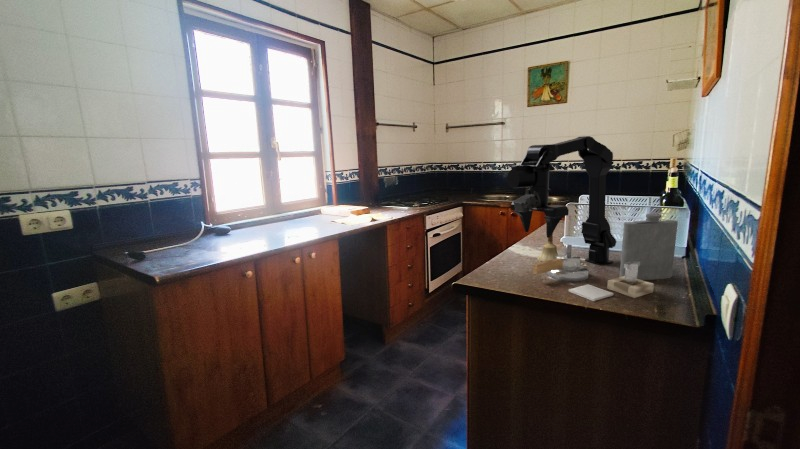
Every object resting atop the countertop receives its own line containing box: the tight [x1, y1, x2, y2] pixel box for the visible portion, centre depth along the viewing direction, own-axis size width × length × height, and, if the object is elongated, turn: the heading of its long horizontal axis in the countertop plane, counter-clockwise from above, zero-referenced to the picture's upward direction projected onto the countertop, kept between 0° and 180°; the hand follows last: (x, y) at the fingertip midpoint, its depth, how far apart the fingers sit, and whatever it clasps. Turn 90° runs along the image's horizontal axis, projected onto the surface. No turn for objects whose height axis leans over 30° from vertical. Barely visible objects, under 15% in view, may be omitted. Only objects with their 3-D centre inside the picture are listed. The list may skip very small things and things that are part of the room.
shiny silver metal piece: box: [624, 261, 640, 286], centre depth 103 cm, size 5×3×8 cm, turn 115°
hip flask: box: [619, 213, 679, 281], centre depth 111 cm, size 16×4×20 cm, turn 92°
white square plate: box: [568, 283, 614, 302], centre depth 103 cm, size 8×8×1 cm
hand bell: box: [537, 230, 559, 262], centre depth 134 cm, size 8×8×16 cm
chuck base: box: [546, 265, 589, 282], centre depth 118 cm, size 12×12×2 cm
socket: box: [606, 276, 655, 299], centre depth 104 cm, size 8×8×2 cm
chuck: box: [532, 243, 581, 275], centre depth 115 cm, size 18×7×8 cm, turn 115°
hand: (537, 234), depth 117 cm, fingers open, 9 cm apart
